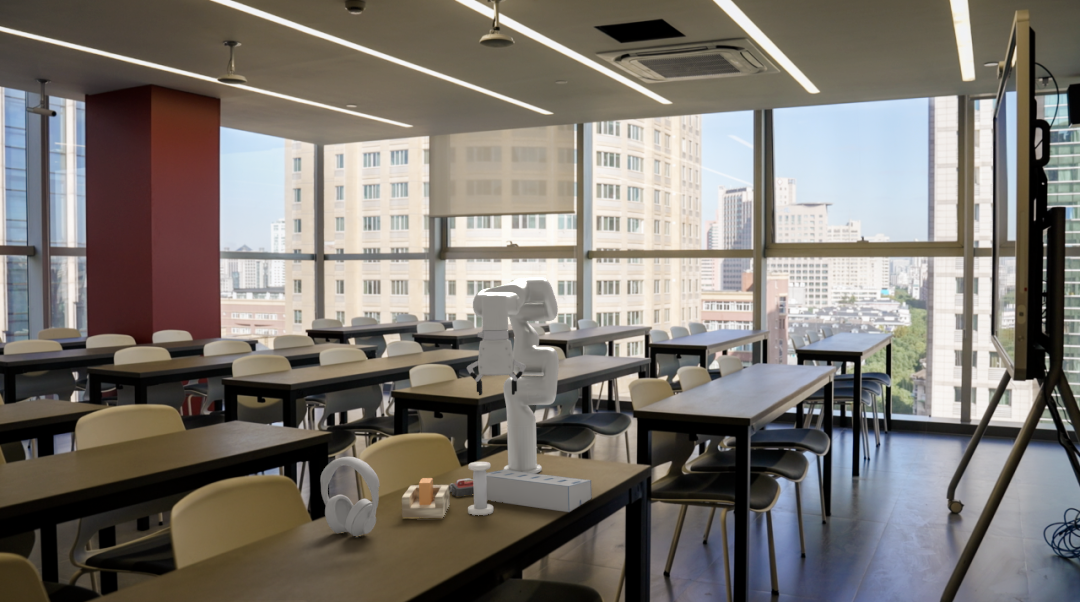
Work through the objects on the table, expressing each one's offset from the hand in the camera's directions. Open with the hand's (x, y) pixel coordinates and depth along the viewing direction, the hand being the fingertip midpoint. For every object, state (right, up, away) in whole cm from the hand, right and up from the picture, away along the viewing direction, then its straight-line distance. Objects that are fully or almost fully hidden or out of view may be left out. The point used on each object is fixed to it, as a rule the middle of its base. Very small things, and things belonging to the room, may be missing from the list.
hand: (497, 394), depth 227 cm
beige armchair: (-19, -31, -12) cm, 38 cm away
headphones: (-35, -32, -30) cm, 56 cm away
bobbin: (-4, -31, -13) cm, 34 cm away
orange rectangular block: (-19, -28, -13) cm, 36 cm away
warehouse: (+11, -31, -1) cm, 33 cm away
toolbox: (-11, -31, +7) cm, 34 cm away
